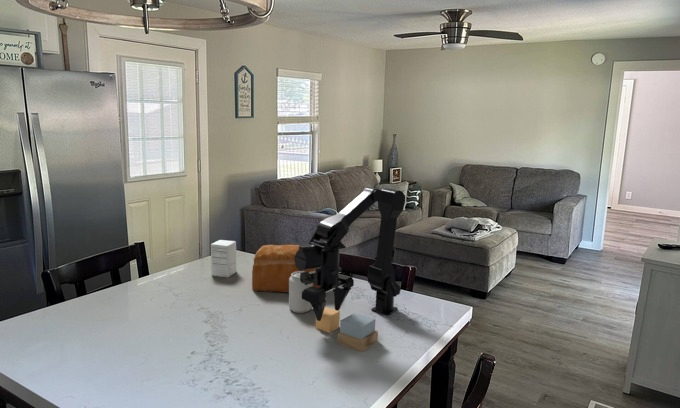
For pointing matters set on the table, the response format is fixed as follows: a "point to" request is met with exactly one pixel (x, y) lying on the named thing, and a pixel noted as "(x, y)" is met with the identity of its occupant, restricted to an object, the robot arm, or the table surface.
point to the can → (298, 294)
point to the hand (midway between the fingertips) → (328, 315)
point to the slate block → (357, 325)
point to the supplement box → (223, 258)
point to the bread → (274, 268)
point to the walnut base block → (358, 341)
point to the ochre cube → (328, 320)
